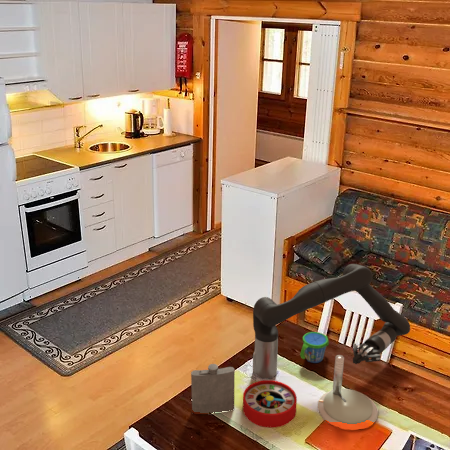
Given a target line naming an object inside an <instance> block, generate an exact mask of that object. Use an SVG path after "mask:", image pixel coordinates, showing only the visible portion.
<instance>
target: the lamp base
mask: <svg viewBox="0 0 450 450" xmlns="http://www.w3.org/2000/svg"><path fill="white" fill-rule="evenodd" d="M331 391H333V389H331V390H329V391H327V392H324V393H323V394H322V395H321V396H320V397H319V399H318V402H317V411H318V414H319V416H320V417H321V418H322V419H323V421H325V420H327V421H329V422H339V421H337V420H335V419H333V418H331V417H330V416H329V415H328V414H327V413H326V412H325V410H324V407H323V402H324V397H325V396H326V395H327V394H328V393H329V392H331ZM364 395H365V396H366V397H367V398H368V399H369V400H370V401H371V403H372V406H373V410H372V415H371V417H370V418H369V419H368V420H370V421H372V422H375V421H377V420H378V415H379V411H378V407H377V405H376V404H375V402H374V400H372V399H371V398H370V397H368V396H367V395H366V394H364ZM375 423H376V422H375Z"/></svg>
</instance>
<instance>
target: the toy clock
mask: <svg viewBox="0 0 450 450" xmlns="http://www.w3.org/2000/svg"><path fill="white" fill-rule="evenodd" d="M297 401H298V398H297V394H296V392H295V390H294V389H293V388H292V387H291V386H289V385H288V384H286V383H284V382H281V381H279V380H272V379H271V380H270V379H266V380H265V379H264V380H258V381H255V382H253V383H251V384H249V385H248V386H247V387H246V388H245V389H244V390H243V393H242V412H243V415H244V416H245V418H246V419H247V420H248V421H249V422H250V423H252V424H254V425H257V426H259V427H262V428H270V429H271V428H279V427H283V426H285V425H287V424H289V423H291V422H292V421H293V420H294V419H295V417H296V414H297Z"/></svg>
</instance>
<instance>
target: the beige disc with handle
mask: <svg viewBox="0 0 450 450" xmlns="http://www.w3.org/2000/svg"><path fill="white" fill-rule="evenodd" d="M334 359H335V361H334V371H333V380H332V381H333V383H332V390H333V391H331V390H330V391H331V392H329V391H328V392H329V393H328V394H327V395H326V396H325V397H324V402H323V407H324V410H325V412H326V413H327V414H328V415H329V416H330V417H331V418H333V419H335V420H337V421H339V422H342V423H347V424H357V423H361V422H365V421H366V420H368V419H369V418H370V417H371V415H372V410H373V406H372V403H371V401H370V400H369V399H368V398H367V397H368V396H367V395H366V394H364V393H362V392H360V391H357V390H354V389H350V388H342V385H343V375H344V364H345V356H344V355H342V354H336V355H335V357H334ZM365 395H366V396H367V397H366V396H365Z"/></svg>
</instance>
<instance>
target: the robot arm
mask: <svg viewBox="0 0 450 450" xmlns="http://www.w3.org/2000/svg"><path fill="white" fill-rule="evenodd" d="M373 276H374V275H373V272H372V270H371V269H370V268H368V267H367V266H364V265H361V264H357V263H350V264H348V265H346V266H344V269H343V272H342V275H341V276H338V277H332V278H331V277H330V278H325V279H324V278H322V279H320V280H315V281H313V282H311V283H307V284H305V285H304V286H302V287H300V288H299V290H298V291H297V292H296V293H295V295H294V296H293V297H292V298H291V299H289V300H287V301H283V302H282V303H279V304H277V303H276V302H275V301H274V300H273V299H272V298H270V297H267V296H264V297H261V298H259V299H257V301H256V302H255V304H254V306H253V310H252V321H253V323H252V325H253V331H254V352H253V354H252V374H254V375H255V376H257V377H258V378H260V379H264V380H265V379H266V380H269V379H272V378H274V377H275V376H276V375H277V373H278V372H277V371H278V352H279V351H278V346H279V330H278V329H279V328H277V325H280V323H283V322H285V321H287V320H288V319H290V318H292V317H294V316H296V315H298V314H301V313H302V312H305V311H307V310H309V309H312V308H314V307H317V306H320V305H322V304H324V303H327V302H329V301H330V300H333V299H336V298H338V297H340V296H343V295H345V294H347V293H351V292H357V293H358V295H360V297H362V298H363V299H364V301H365V302H366V303H367V304H368V306H369V307H370V308H371V309H372V310H373V311H374V313H375V315H377V317H378V318H379V319H380V320H381V321H382V322H384V324H383V326H382V328H381V329H380V330H378V331H377V332H375V333H373V334H372V335H371V336H370V337H368V338H367V339H366V340H365V341H364V342H363V343H360V344H357V343H354V342H353V344H352V345H353V346H352V351H353V357H352V363H353V364H355V365H358V364H361V363H362V362H364V361H365V363H373V362H381V356H382V355H381V354H382V353H383V352H384V351H385V350H386V349H388V348H389V346H390V345H392V343H394V342H395V341H396V339H397V336H407V335H408V334H409V333H410V331H411V324H410V322H409V321H408V319H407V318H406V317H404V315H402V314H401V313H400V312H398V311H397V310H395V309H394V308H393V307H392V305H391V304H390V303H389V301H388V300H387V299H386V298H385V297H384V296H383V295H382V294H381V293H380V292H378V290H376V289H375V288H374V287H373V286H372V285H371V283H372V280H373Z"/></svg>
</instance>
